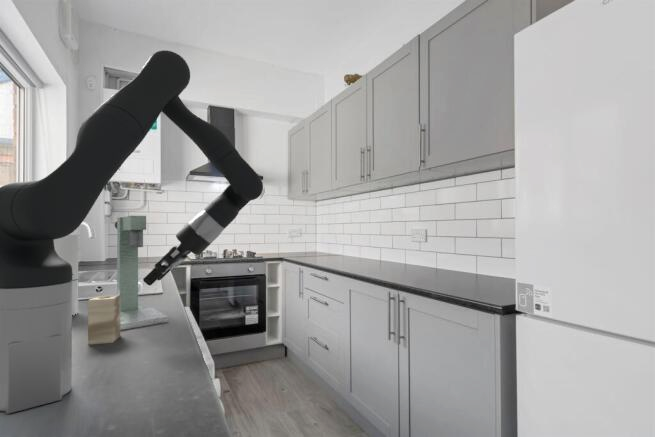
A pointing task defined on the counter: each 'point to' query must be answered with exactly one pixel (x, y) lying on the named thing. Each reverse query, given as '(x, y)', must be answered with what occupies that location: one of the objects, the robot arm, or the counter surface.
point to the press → (132, 274)
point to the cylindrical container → (70, 262)
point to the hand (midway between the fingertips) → (151, 280)
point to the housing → (103, 319)
